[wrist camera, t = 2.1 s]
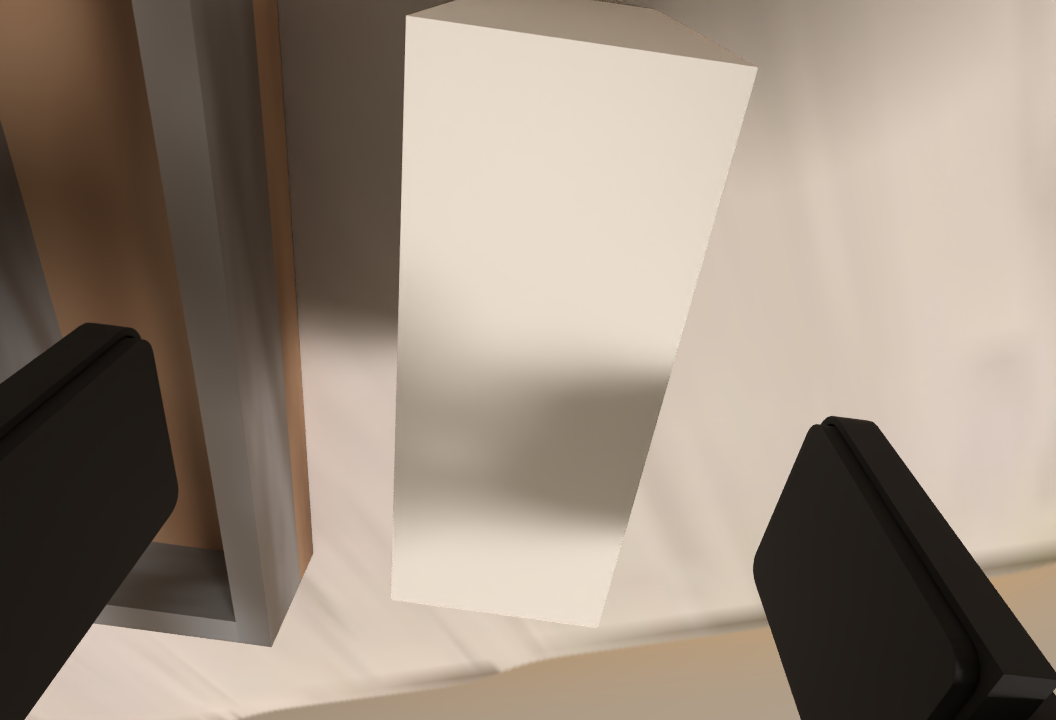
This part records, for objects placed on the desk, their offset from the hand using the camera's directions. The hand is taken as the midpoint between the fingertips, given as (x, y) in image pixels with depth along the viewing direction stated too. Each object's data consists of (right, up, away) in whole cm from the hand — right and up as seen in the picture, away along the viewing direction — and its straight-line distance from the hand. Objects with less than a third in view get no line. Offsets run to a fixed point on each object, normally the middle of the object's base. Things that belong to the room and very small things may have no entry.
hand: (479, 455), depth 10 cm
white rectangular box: (+1, +6, +10) cm, 12 cm away
